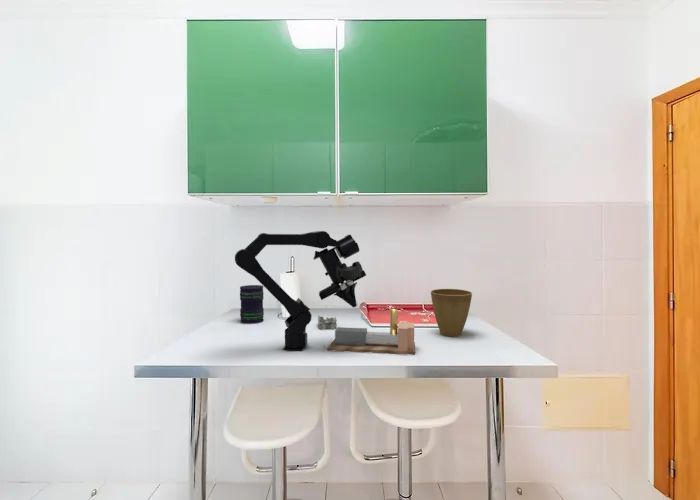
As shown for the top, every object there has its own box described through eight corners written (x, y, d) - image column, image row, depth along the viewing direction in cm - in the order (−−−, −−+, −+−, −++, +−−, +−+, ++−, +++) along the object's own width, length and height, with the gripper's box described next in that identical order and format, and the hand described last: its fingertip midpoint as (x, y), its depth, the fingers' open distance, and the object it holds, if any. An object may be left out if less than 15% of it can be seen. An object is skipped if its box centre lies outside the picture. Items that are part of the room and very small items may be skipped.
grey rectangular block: (335, 345, 131) (335, 330, 131) (337, 341, 136) (337, 327, 136) (365, 346, 130) (365, 331, 129) (367, 342, 134) (367, 328, 134)
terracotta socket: (397, 350, 125) (398, 328, 125) (399, 341, 135) (399, 321, 135) (414, 351, 124) (414, 328, 124) (414, 342, 134) (414, 321, 134)
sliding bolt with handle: (361, 342, 131) (361, 309, 130) (362, 340, 134) (362, 307, 133) (404, 344, 128) (404, 310, 128) (404, 342, 131) (404, 308, 131)
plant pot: (422, 331, 153) (423, 289, 152) (455, 328, 159) (455, 287, 158) (445, 341, 139) (445, 295, 139) (480, 337, 145) (480, 293, 144)
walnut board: (327, 350, 128) (327, 347, 128) (334, 341, 139) (334, 338, 139) (414, 354, 124) (414, 351, 124) (414, 344, 135) (414, 342, 135)
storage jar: (235, 322, 169) (234, 287, 168) (251, 318, 178) (250, 284, 177) (253, 324, 164) (252, 288, 164) (268, 320, 173) (268, 285, 172)
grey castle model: (317, 324, 166) (317, 314, 166) (335, 324, 167) (335, 314, 167) (318, 330, 156) (318, 320, 156) (337, 330, 157) (337, 319, 156)
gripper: (328, 265, 121) (352, 311, 120) (365, 248, 135) (387, 289, 134) (308, 277, 129) (331, 320, 128) (345, 260, 143) (366, 298, 142)
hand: (355, 306), depth 133 cm, fingers closed
